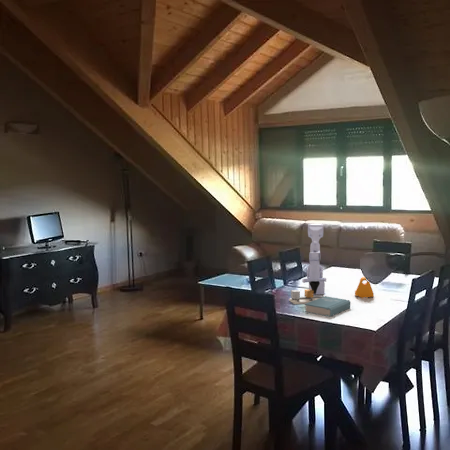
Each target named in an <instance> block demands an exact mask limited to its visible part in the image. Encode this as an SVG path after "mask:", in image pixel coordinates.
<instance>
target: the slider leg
mask: <svg viewBox="0 0 450 450" xmlns="http://www.w3.org/2000/svg"><path fill="white" fill-rule="evenodd" d="M304 297H307V298H311V300H312V299H313V297H314V295H313V290H311V289H309V288H308V289H306V288H305V289H304Z"/></svg>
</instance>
